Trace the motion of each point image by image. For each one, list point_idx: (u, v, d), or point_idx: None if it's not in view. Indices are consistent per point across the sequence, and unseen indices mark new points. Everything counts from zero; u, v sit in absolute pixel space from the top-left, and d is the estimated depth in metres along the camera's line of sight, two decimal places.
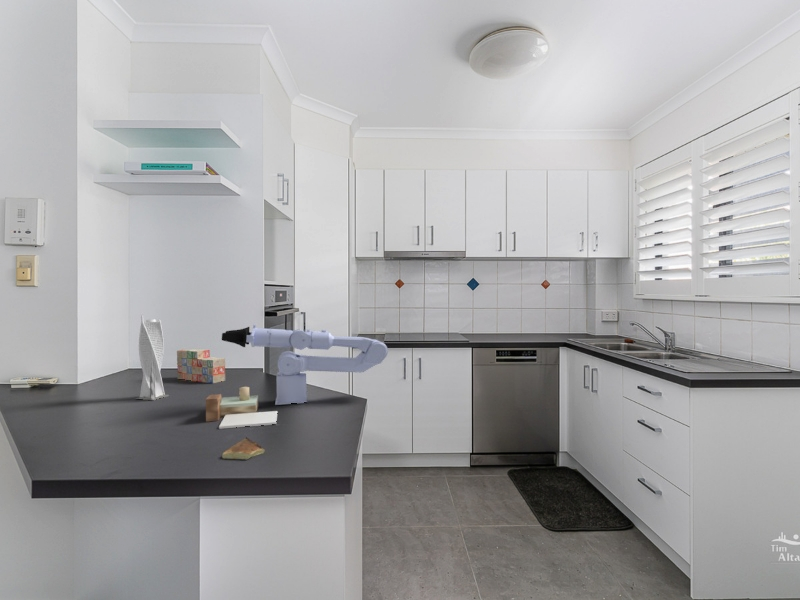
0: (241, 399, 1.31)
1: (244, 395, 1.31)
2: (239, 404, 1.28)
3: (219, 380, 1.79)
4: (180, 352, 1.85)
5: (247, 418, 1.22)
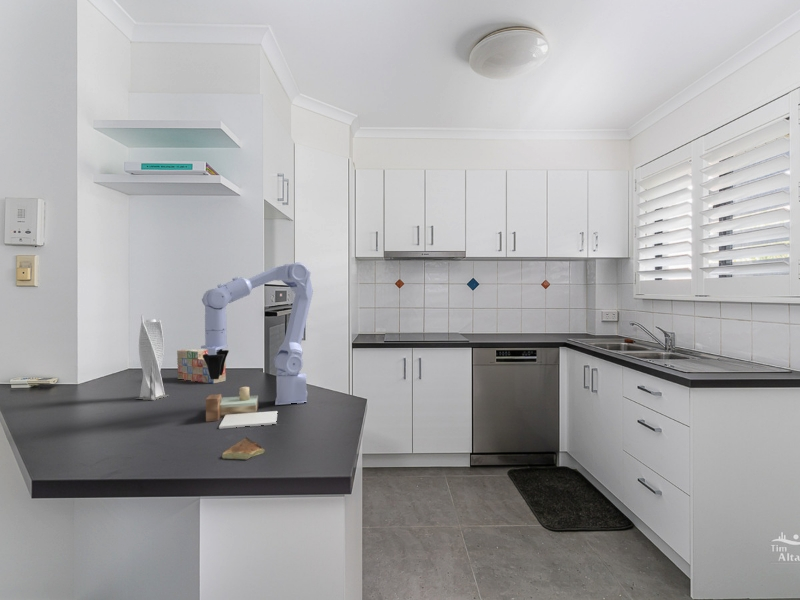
0: (241, 399, 1.31)
1: (244, 395, 1.31)
2: (239, 404, 1.28)
3: (220, 380, 1.79)
4: (180, 352, 1.85)
5: (247, 418, 1.22)
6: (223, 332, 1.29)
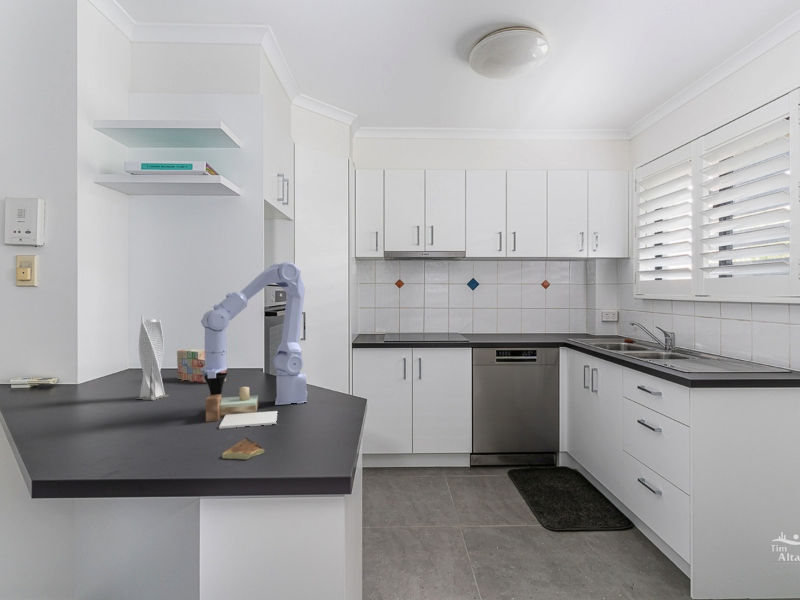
0: (241, 399, 1.31)
1: (244, 395, 1.31)
2: (239, 404, 1.28)
3: None
4: (180, 352, 1.84)
5: (247, 418, 1.22)
6: (223, 354, 1.28)
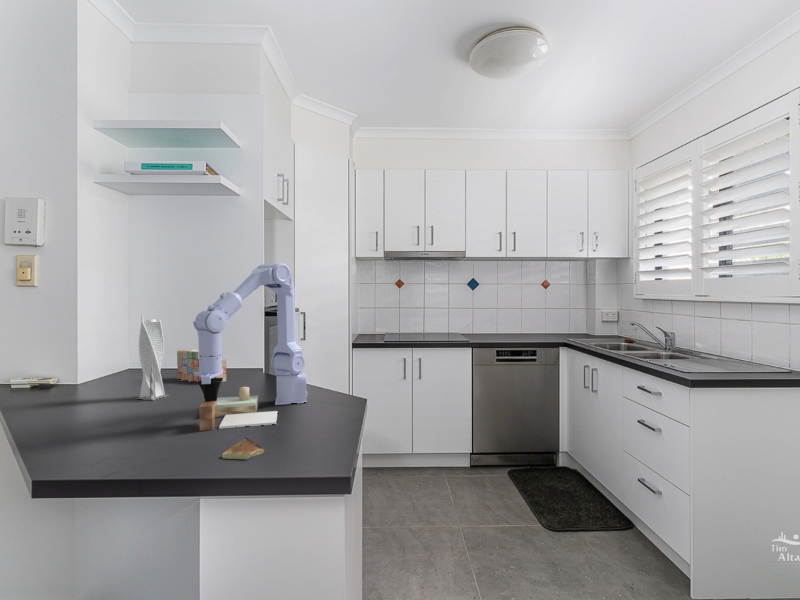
0: (241, 399, 1.31)
1: (244, 395, 1.31)
2: (239, 404, 1.28)
3: None
4: (180, 352, 1.84)
5: (247, 418, 1.22)
6: (218, 358, 1.20)
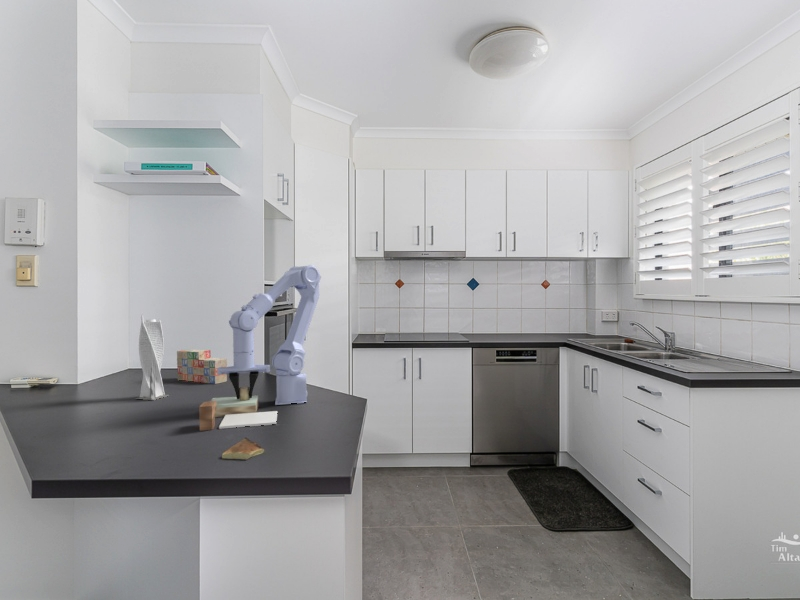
0: (241, 399, 1.31)
1: (244, 395, 1.31)
2: (239, 404, 1.28)
3: (221, 381, 1.78)
4: (180, 353, 1.83)
5: (247, 418, 1.22)
6: (237, 355, 1.30)
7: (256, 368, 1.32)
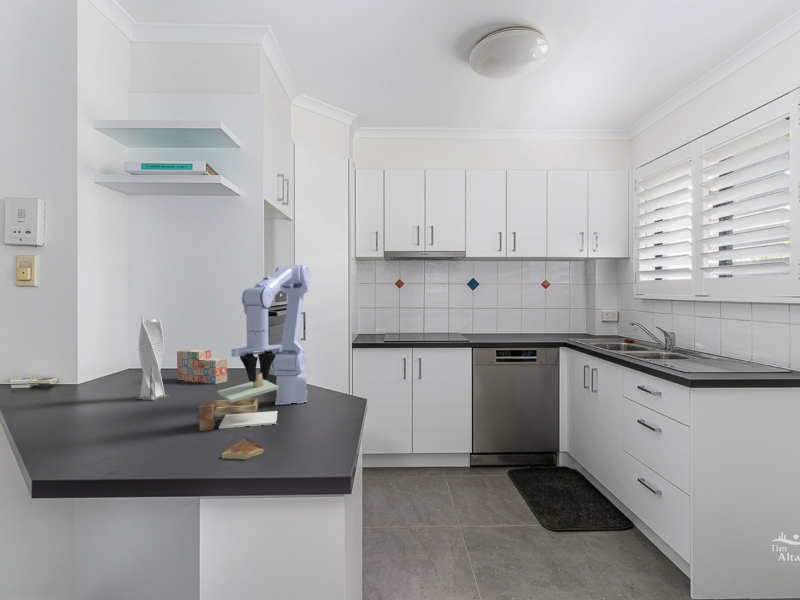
0: (257, 386, 1.23)
1: (260, 381, 1.23)
2: (262, 391, 1.20)
3: (221, 381, 1.77)
4: (180, 353, 1.83)
5: (247, 418, 1.22)
6: (256, 334, 1.21)
7: (272, 347, 1.25)
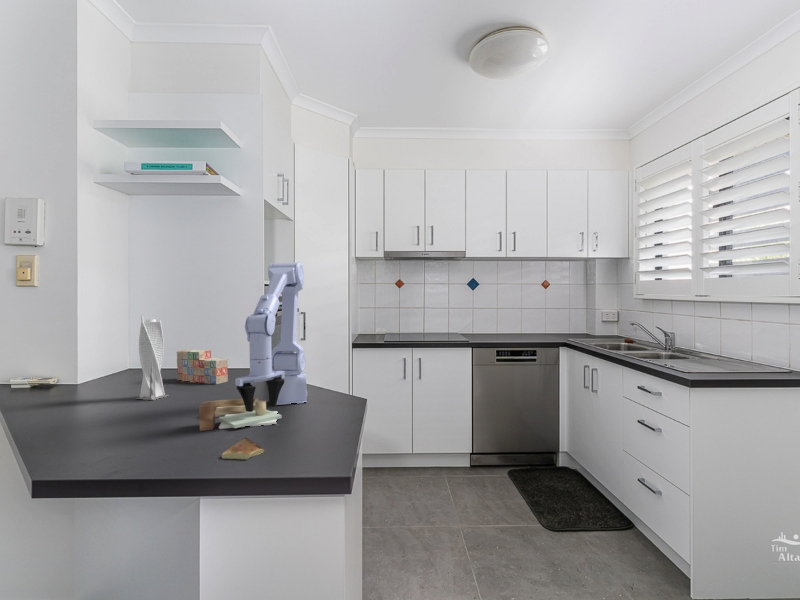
0: (260, 414, 1.22)
1: (263, 409, 1.22)
2: (266, 419, 1.19)
3: (222, 381, 1.77)
4: (180, 353, 1.82)
5: None
6: (260, 362, 1.20)
7: (276, 374, 1.24)
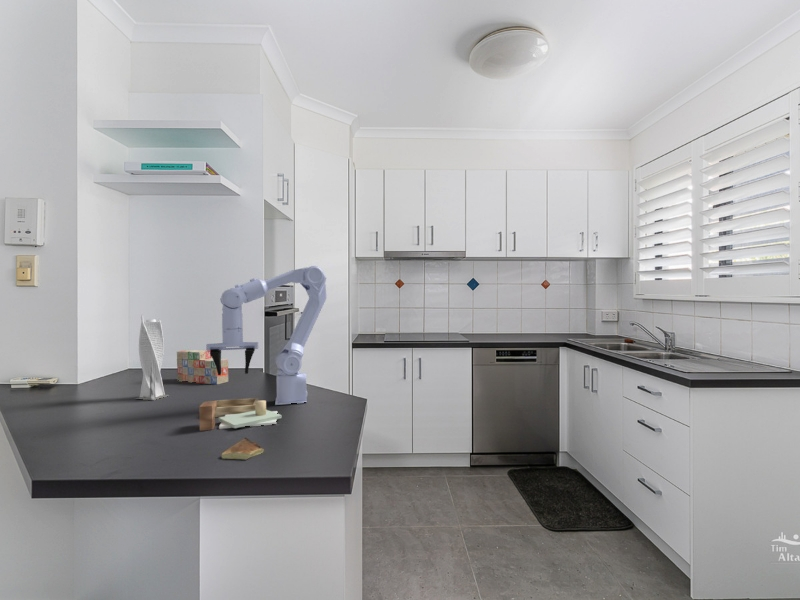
0: (260, 414, 1.22)
1: (263, 409, 1.22)
2: (266, 419, 1.19)
3: (223, 381, 1.77)
4: (180, 353, 1.81)
5: None
6: (225, 331, 1.33)
7: (244, 345, 1.35)
